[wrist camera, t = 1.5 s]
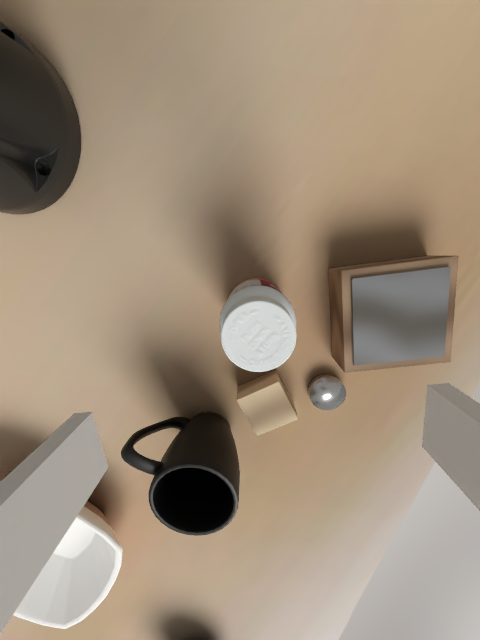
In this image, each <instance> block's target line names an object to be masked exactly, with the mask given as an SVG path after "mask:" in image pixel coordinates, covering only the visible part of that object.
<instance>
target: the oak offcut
mask: <svg viewBox="0 0 480 640" xmlns="http://www.w3.org/2000/svg"><path fill="white" fill-rule="evenodd" d="M237 402H238V404H239V405H240V407H241V409H242V410H243V412H244V414H245V416H246V417H247V419H248V421H249V423H250V424H251V426H252V428H253V429H254V431H255V433H256V435H257V436H259V435H261V434H263V433H266V432H268V431H271V430H273V429H275V428H278V427H280V426H283V425H285V424H287V423H290V422H292V421H295V420H297V419H298V416H297V413H296V409H295V406H294V403H293V401H292V399H291V397H290V395H289V393H288V392H287V390H286V388H285V386H284V384H283V382H282V380H281V378H280V376H279V374H278V372H277V371H276V369H275V370H273V371H271V372H269V373H266V374H264V375H262V376H260V377H258V378H255V379H253V380H251V381H249V382H247V383H244V384H242V385H240V386H238V390H237Z"/></svg>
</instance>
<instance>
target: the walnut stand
mask: <svg viewBox="0 0 480 640" xmlns="http://www.w3.org/2000/svg"><path fill="white" fill-rule="evenodd" d="M457 268H458V256H421V257H413V258H406V259H398V260H390V261H382V262H374V263H367V264H359V265H351V266H343V267H335V268H328V276H329V298H330V320H331V342H332V357H333V359H334V360H335V361H336V362H337V364H338V365H339V366H340V367H341V368H342V370H343V371H344V372H345V373H346V372H356V371H366V370H376V369H385V368H395V367H405V366H415V365H425V364H435V363H445V362H450V361H451V348H452V335H453V321H454V308H455V295H456V281H457Z"/></svg>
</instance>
